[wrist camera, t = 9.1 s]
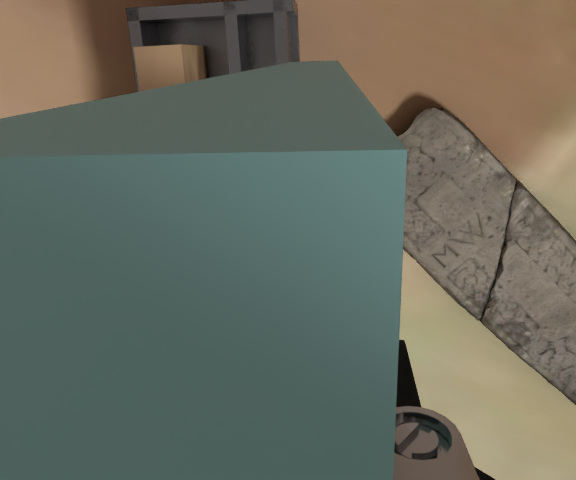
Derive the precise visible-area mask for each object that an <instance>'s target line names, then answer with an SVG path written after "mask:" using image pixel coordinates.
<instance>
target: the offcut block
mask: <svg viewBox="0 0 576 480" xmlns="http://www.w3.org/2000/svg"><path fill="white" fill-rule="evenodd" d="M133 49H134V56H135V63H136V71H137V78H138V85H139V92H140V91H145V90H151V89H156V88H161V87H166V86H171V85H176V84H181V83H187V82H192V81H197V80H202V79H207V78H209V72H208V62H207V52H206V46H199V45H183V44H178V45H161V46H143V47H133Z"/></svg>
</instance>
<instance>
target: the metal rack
mask: <svg viewBox="0 0 576 480" xmlns="http://www.w3.org/2000/svg"><path fill="white" fill-rule="evenodd" d="M126 13H127V20H128V27H129V35H130V42H131V49H132V56H133V63H134V70H135V77H136V84H137V92H139V85H138V78H137V71H136V63H135V56H134V49H133V47H143V46H161V45H178V44H183V45H199V46H206V52H207V62H208V72H209V78H212V77H217V76H222V75H228V74H233V73H238V72H243V71H248V70H253V69H258V68H263V67H269V66H274V65H279V64H284V63H289V62H300V58H299V34H298V10H297V3H296V2H295V0H245V1H230V2H214V3H198V4H183V5H167V6H151V7H136V8H126Z"/></svg>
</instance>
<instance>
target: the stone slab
mask: <svg viewBox="0 0 576 480" xmlns="http://www.w3.org/2000/svg"><path fill="white" fill-rule="evenodd" d="M397 137H398V138H399V140H400V141H401V142H402V144H403V145H404V146H405V147H406V149H407V166H406V190H405V213H404V236H403V249H404V250H405V251H406V252H407V253H408V254H409V255H410V256H411V257H412V258H414V259H415V260H416V261H417V263H418V264H420V265H421V267H422V268H423V269H424V270H425V271H426V272H427V273H428V274H429V275H430V276H431V277H432V278H433V279H434V280H435V281H436V282H437V283H438V284H439V285H440V286H441V287H442V288H443V289H444V290H445V291H446V292H447V293H448V294H449V295H450V296H451V297H452V298H453V299H454V300H455V301H456V302H457V303H458V304H459V305H460V306H462V307H463V308H465V309H466V310H467V311H468V312H469V313H470V314H471V315H472V316H474V317H475V318H476V319H477V320H481V322H482V324H483V325H484V326H485V327H486V328H488V329H489V330H490V331H491V332H492V333H493V334H494V335H495V336H496V337H497V338H498V339H500V340H501V341H502V342H503V343H504V344H505V345H506V346H507V347H508V348H509V349H510V350H512V351H513V352H514V353H516V354H517V355H518V356H519V357H520V358H521V359H522V360H523V361H524V362H526V363H527V364H528V365H529V366H530V367H532V368H533V369H535V370H536V371H537V372H538V373H539V374H541V375H542V376H543V377H544V378H545V379H546V380H547V381H548V382H549V383H550V384H552V385H553V386H554V387H556V388H557V389H558V390H559V391H561V392H562V393H563V394H564V395H565V396H566V397H567V398H568V399H569V400H570V401H572V402H573V403H574V404H575V405H576V241H575V240H574V239H573V237H572V236H571V235H570V234H569V233H568V232H567V231H566V230H565V229H564V228H563V227H562V226H561V224H560V223H559V222H558V221H557V220H556V219H555V218H554V217H553V216H552V214H550V213H549V212H548V211H547V210H546V208H545V207H543V206H542V205H541V204H540V203H539V201H538V200H537V199H536V198H535V197H534V196H533V195H532V194H531V193H530V192H529V191H528V190H527V189H526V188H525V187H524V185H523V184H522V183H516V180H515V178H514V177H513V175H512V174H511V173H510V172H509V171H508V170H507V169H506V168H505V167H504V166H503V165H502V164H501V162H500V161H499V160H498V159H497V158H496V157H495V156H494V155H493V154H492V153H491V152H490V151H489V150H488V149H487V148H486V146H485V145H483V143H482V142H481V141H480V140H479V139H478V138H477V137H476V136H475V134H474V133H473V132H472V131H471V130H470V129H469V128H467V126H466V125H465V124H463V122H461V121H460V120H459V119H458V118H456V117H455V116H454V115H453V114H451V113H450V112H448V111H446V110H445V109H443V108H442V111H441V110H438V109H436V108H429V109H425V110H424V111H423V112H421V113H420V114H419V115H417V117H416V118H415V120H414V121H413V123H412V125H411V126H410V128H409V129H408V130H407V131H406V132H405V133H404V134H402V135H399V136H397ZM515 183H516V184H515Z"/></svg>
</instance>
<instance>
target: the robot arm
mask: <svg viewBox="0 0 576 480" xmlns="http://www.w3.org/2000/svg"><path fill="white" fill-rule="evenodd" d="M393 480H495V479H494V478H492V477H490V476H489V475H487V474H485V473H484V472H482V471H480V470H479V469H477V468H475V467H474V465H473V463H472V460H471V458H470V455H469V453H468V450H467V448H466V446H465V443H464V441H463V438H462V436H461V434H460V432H459V431H458V429H457V427H456V426H455V425H454V424H453V423H452V422H451V421H450V420H449V419H447V418H446V417H445V416H443V415H441V414H439V413H437V412H435V411H433V410H429V409H425V408H422V407H421V404H420V400H419V396H418V392H417V388H416V384H415V380H414V376H413V372H412V368H411V364H410V360H409V356H408V352H407V348H406V344H405V341H404V340H399V352H398V375H397V398H396V421H395V445H394V468H393Z"/></svg>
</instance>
